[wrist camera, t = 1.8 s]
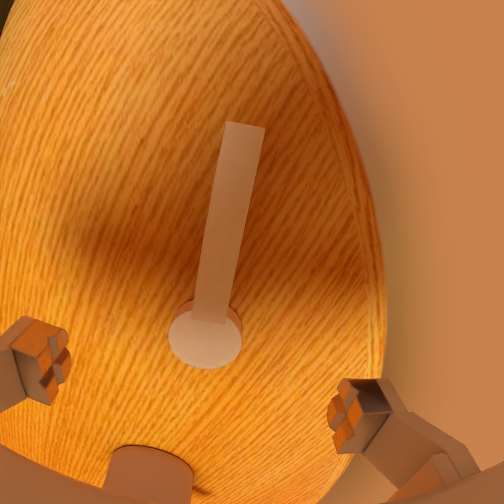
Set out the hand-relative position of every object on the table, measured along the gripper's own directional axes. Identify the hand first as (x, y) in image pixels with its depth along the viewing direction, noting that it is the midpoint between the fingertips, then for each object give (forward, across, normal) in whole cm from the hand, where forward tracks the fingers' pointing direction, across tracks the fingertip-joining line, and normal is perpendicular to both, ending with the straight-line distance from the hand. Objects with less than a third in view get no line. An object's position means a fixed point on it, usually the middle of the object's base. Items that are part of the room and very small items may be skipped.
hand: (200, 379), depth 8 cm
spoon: (+10, 0, 0) cm, 10 cm away
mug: (+10, +2, +25) cm, 27 cm away
